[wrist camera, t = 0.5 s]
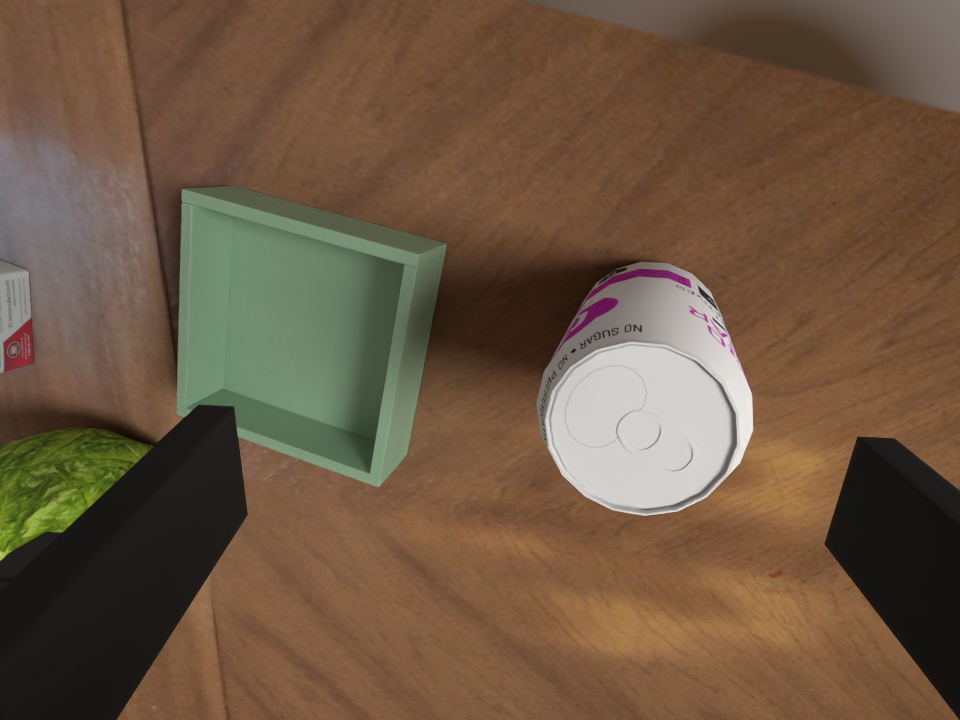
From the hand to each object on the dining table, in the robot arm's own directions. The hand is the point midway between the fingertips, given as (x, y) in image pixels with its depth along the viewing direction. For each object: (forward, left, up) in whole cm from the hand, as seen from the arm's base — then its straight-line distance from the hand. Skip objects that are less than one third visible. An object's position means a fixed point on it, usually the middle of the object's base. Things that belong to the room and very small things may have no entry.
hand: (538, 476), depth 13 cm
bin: (+9, -18, -25) cm, 32 cm away
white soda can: (+3, +3, -25) cm, 25 cm away
